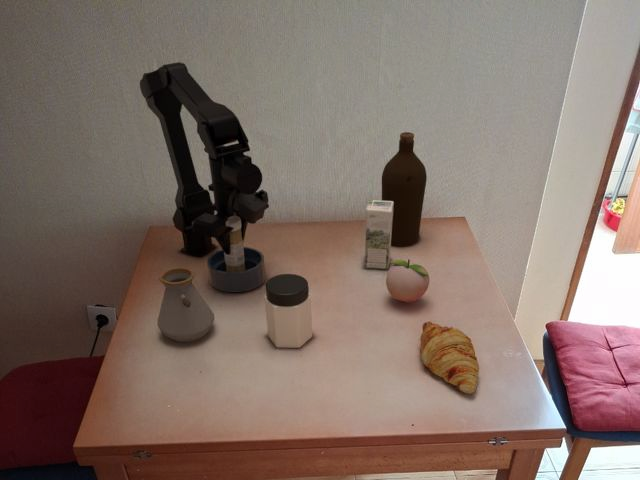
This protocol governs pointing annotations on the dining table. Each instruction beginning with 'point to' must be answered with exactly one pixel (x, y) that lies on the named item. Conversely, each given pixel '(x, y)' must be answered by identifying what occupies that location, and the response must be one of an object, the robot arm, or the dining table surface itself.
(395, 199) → the olive oil
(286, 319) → the jar
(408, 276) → the decorative fruit
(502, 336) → the dining table surface
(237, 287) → the bowl
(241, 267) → the sprinkles bottle
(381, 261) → the syrup box
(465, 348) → the croissant
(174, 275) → the coffee pot
